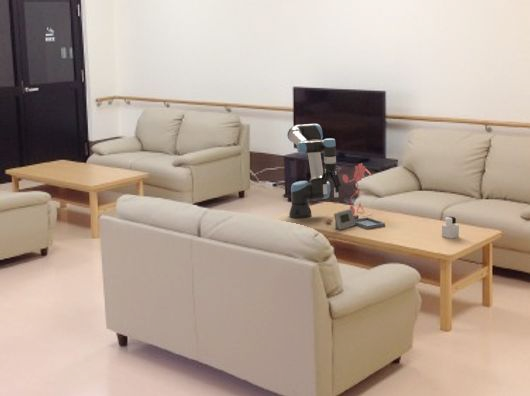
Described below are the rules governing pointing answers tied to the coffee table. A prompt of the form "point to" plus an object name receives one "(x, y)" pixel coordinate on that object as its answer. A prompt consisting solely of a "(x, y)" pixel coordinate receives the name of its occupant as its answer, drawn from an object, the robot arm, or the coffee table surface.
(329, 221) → the terracotta ball
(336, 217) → the digital clock
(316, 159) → the robot arm
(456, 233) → the medicine bottle
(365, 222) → the tray
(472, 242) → the coffee table surface
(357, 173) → the figurine
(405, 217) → the coffee table surface
